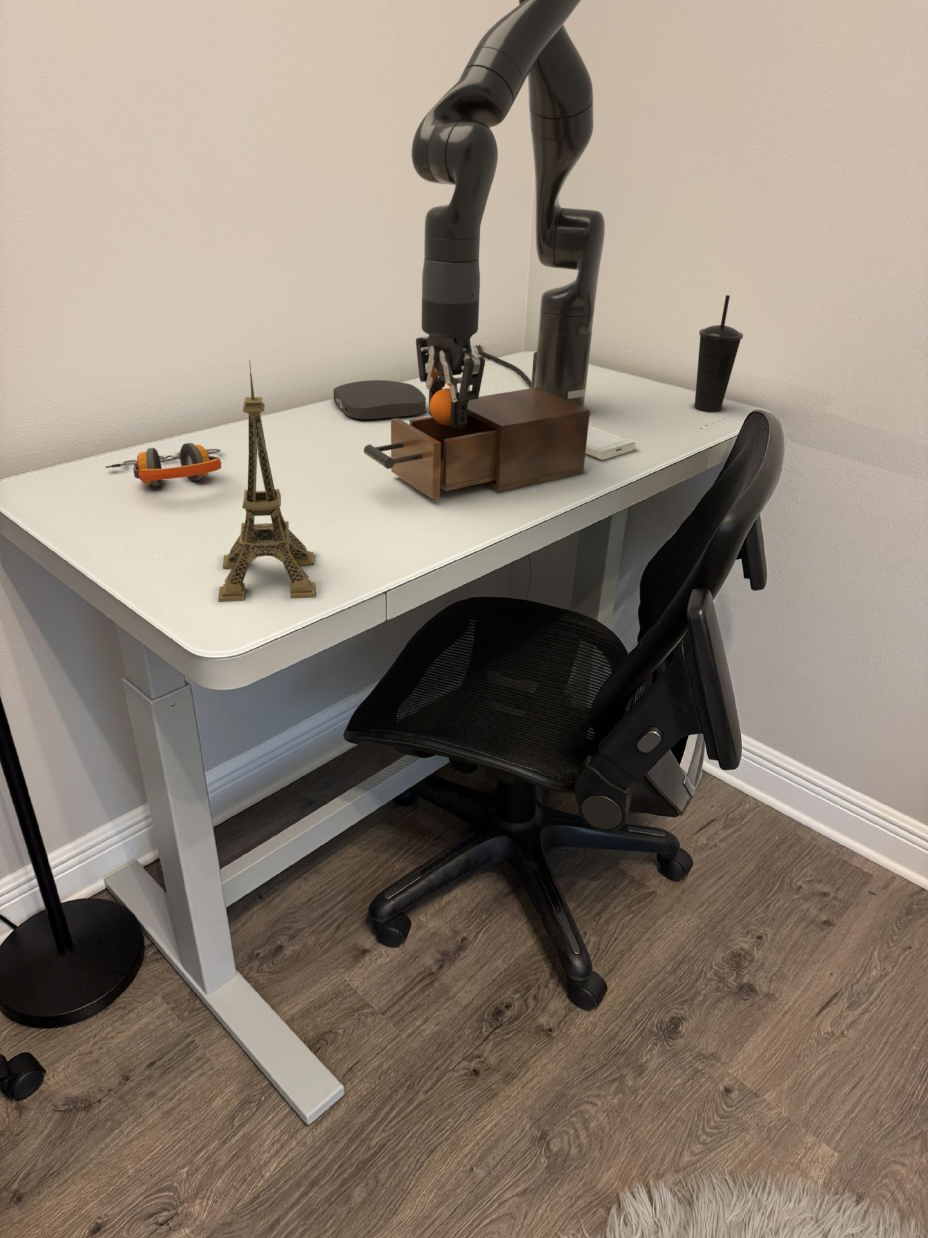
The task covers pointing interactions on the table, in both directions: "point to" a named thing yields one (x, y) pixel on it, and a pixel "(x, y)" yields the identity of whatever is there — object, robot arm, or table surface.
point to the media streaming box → (379, 399)
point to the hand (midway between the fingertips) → (447, 420)
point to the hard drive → (606, 444)
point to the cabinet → (533, 436)
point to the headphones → (192, 466)
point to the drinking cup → (715, 363)
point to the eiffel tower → (269, 535)
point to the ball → (441, 406)
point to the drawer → (439, 454)
